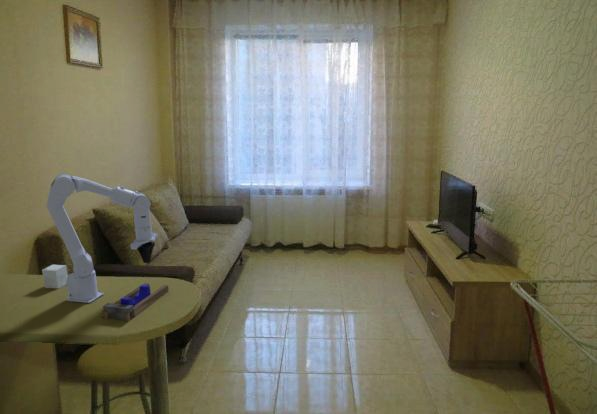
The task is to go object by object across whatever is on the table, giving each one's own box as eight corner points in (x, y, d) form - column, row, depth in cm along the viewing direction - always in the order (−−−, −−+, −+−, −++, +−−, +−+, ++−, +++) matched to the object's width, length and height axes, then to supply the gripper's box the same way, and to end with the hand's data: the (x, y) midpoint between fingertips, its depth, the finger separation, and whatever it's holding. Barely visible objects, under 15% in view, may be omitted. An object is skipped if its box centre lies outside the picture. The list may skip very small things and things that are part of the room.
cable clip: (139, 300, 162) (138, 284, 160) (151, 301, 160) (149, 285, 159) (118, 315, 150) (116, 298, 149) (130, 317, 149) (128, 299, 148)
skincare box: (69, 283, 179) (66, 264, 178) (58, 289, 174) (55, 270, 172) (55, 282, 181) (53, 264, 179) (44, 288, 175) (41, 269, 173)
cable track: (103, 318, 148) (101, 306, 147) (145, 289, 171) (144, 279, 170) (129, 321, 146) (127, 309, 145) (168, 291, 168) (167, 280, 168)
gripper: (141, 232, 161) (145, 269, 164) (163, 222, 174) (166, 256, 177) (123, 231, 163) (128, 268, 166) (147, 221, 176) (150, 255, 179)
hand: (146, 262), depth 172 cm, fingers closed
